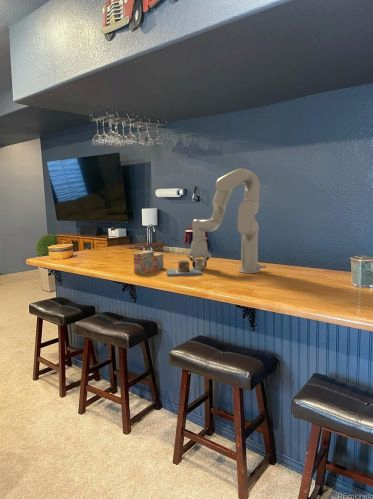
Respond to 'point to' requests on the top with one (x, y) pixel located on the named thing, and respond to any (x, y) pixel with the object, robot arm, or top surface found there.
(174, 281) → the top surface
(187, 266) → the walnut cube
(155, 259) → the stack of blocks
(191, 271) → the board
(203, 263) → the maple cube
